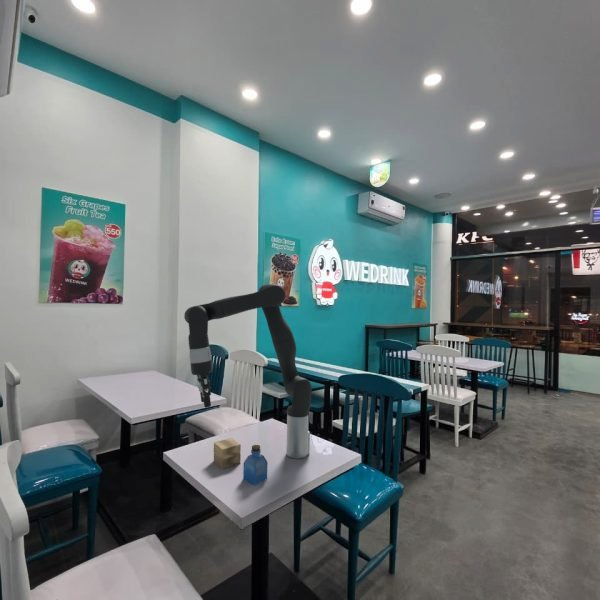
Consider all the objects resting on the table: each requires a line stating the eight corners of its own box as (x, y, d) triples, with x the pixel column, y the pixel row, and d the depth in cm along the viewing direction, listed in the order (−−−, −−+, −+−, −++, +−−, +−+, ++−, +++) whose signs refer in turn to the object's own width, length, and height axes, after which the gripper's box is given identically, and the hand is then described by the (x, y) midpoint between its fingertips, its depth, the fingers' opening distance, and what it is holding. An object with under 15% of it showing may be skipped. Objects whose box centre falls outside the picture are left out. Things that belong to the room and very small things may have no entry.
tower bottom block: (231, 456, 142) (231, 447, 142) (240, 464, 136) (240, 454, 136) (213, 461, 137) (213, 452, 137) (221, 469, 131) (222, 459, 131)
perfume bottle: (255, 473, 128) (256, 441, 128) (267, 478, 124) (267, 446, 125) (243, 479, 124) (244, 446, 124) (254, 485, 120) (255, 451, 120)
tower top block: (231, 447, 142) (231, 437, 142) (240, 454, 136) (240, 444, 136) (213, 452, 137) (213, 442, 137) (221, 459, 131) (222, 449, 131)
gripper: (214, 360, 118) (219, 406, 118) (208, 356, 131) (213, 397, 131) (192, 364, 115) (197, 411, 115) (188, 359, 128) (193, 402, 128)
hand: (206, 404), depth 123 cm, fingers open, 8 cm apart
